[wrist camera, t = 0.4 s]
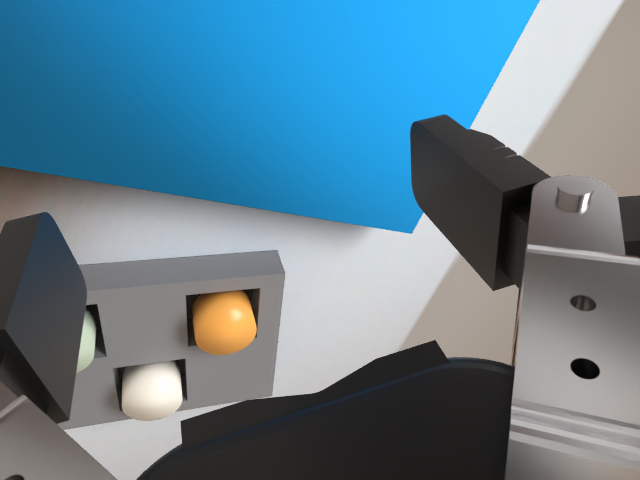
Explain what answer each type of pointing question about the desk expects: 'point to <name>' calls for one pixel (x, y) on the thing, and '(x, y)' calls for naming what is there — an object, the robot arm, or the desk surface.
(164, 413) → the button ivory
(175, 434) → the desk surface
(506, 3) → the book
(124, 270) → the panel
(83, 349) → the button sage
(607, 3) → the desk surface
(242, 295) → the button orange
